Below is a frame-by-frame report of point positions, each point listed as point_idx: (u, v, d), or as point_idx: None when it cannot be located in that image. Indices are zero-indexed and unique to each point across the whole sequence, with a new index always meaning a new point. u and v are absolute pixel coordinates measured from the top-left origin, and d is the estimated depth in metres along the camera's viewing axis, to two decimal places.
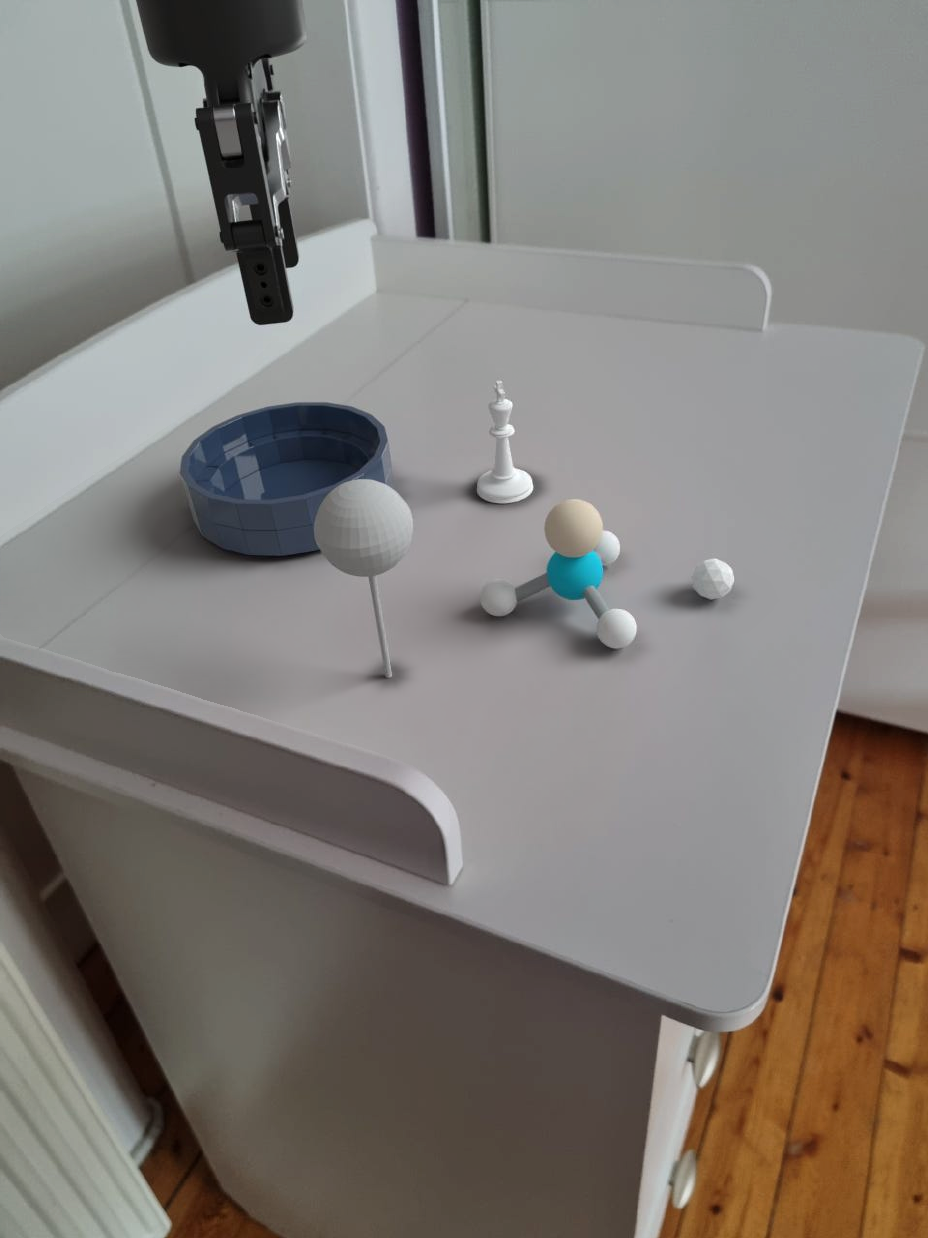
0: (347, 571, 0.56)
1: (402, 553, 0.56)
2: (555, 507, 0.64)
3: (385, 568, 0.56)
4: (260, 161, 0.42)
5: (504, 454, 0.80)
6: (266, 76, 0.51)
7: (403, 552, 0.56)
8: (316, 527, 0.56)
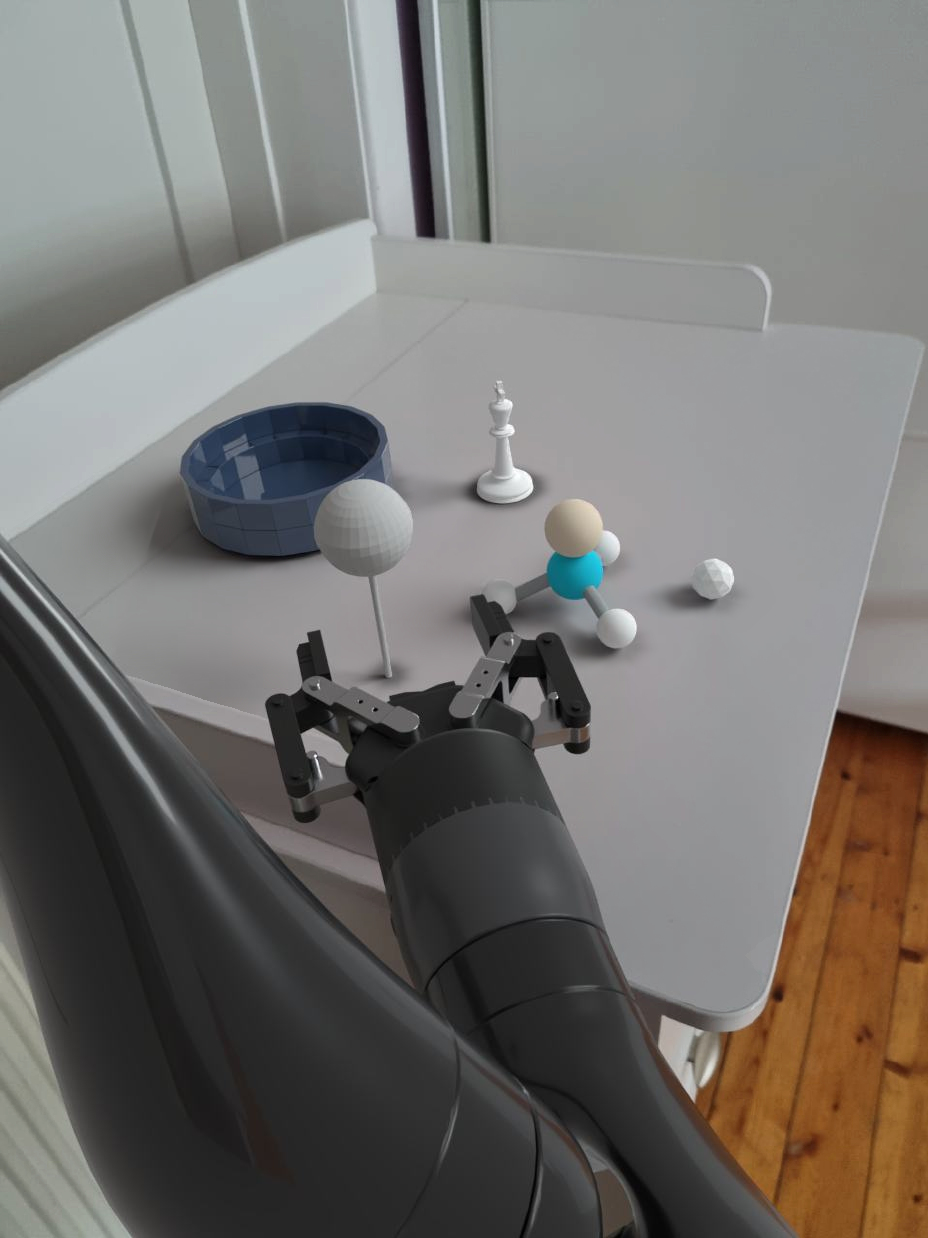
0: (347, 571, 0.56)
1: (402, 553, 0.56)
2: (555, 507, 0.64)
3: (385, 568, 0.56)
4: None
5: (504, 454, 0.80)
6: None
7: (403, 552, 0.56)
8: (316, 527, 0.56)
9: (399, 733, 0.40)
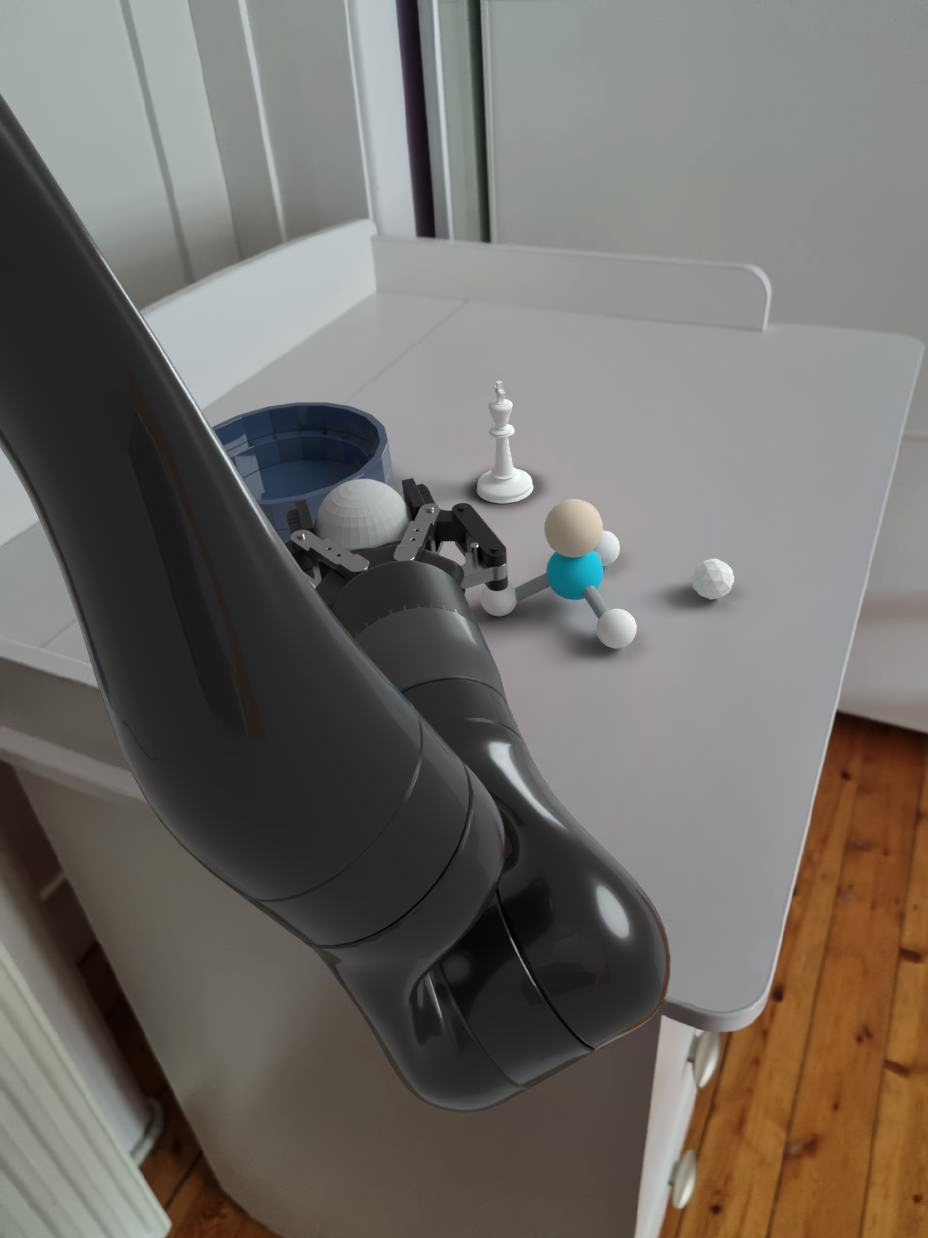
0: None
1: None
2: (555, 507, 0.64)
3: None
4: None
5: (504, 454, 0.80)
6: (486, 583, 0.53)
7: None
8: (316, 527, 0.56)
9: (350, 572, 0.50)
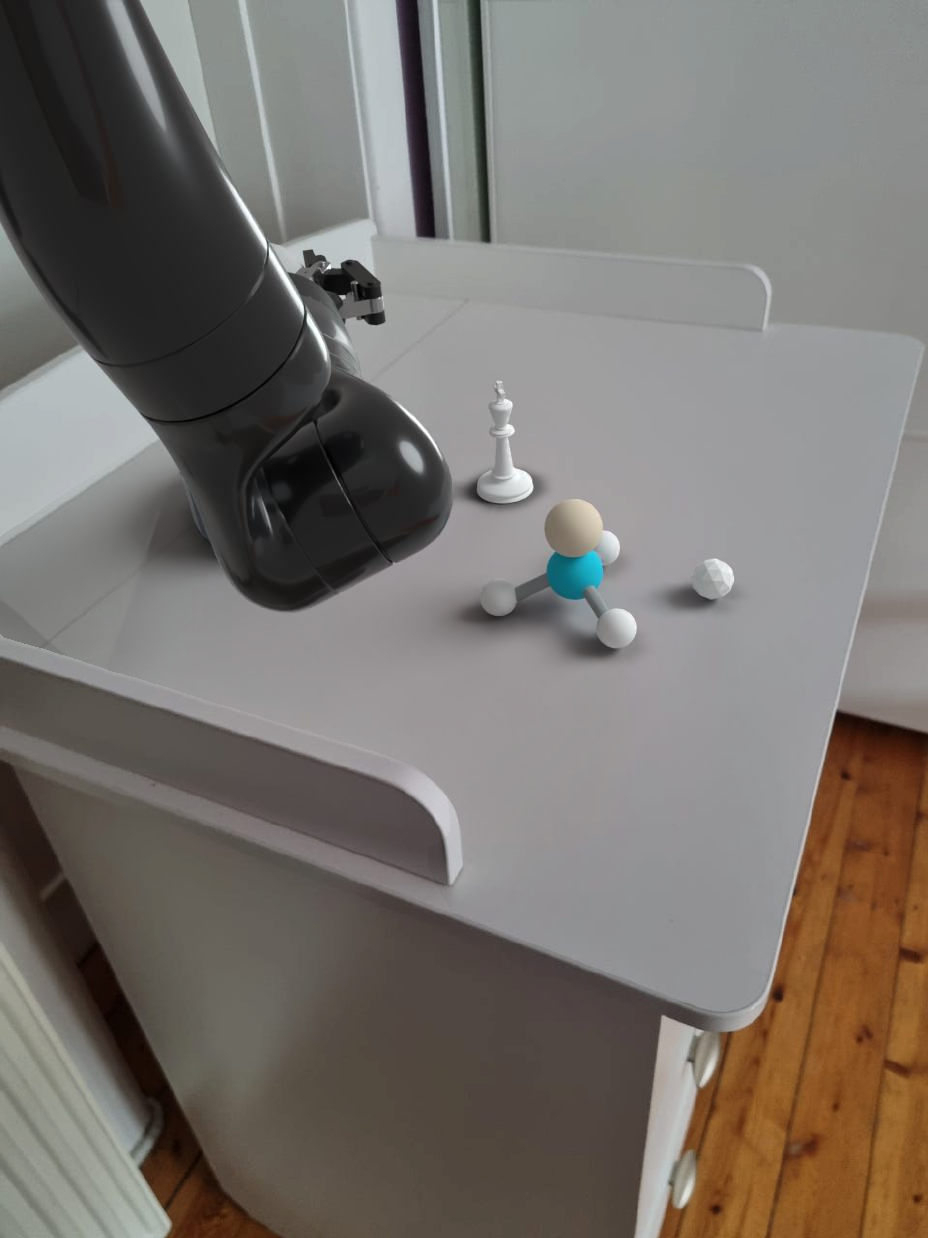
0: None
1: None
2: (555, 507, 0.64)
3: None
4: None
5: (504, 454, 0.80)
6: (366, 319, 0.60)
7: None
8: None
9: None
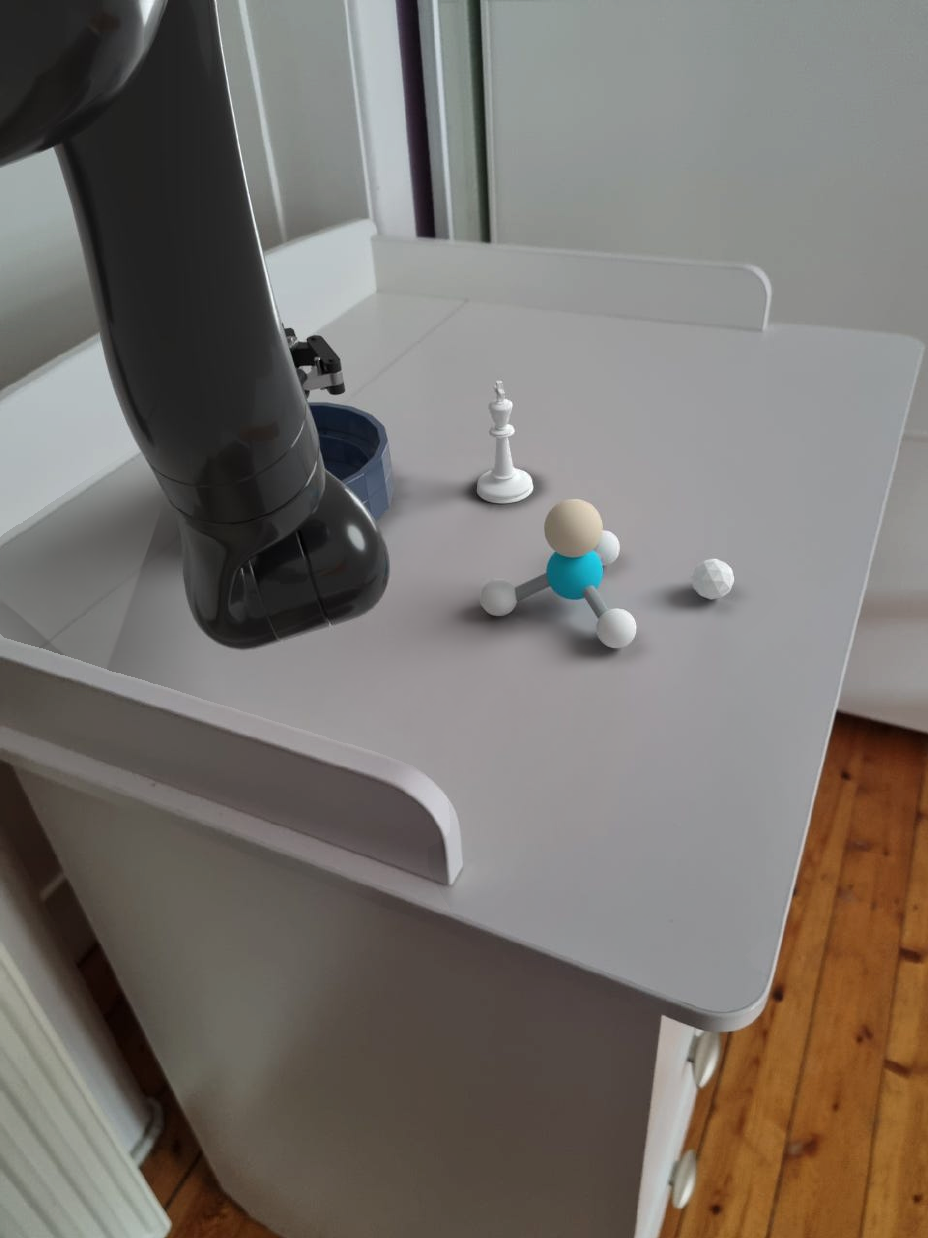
0: None
1: None
2: (555, 507, 0.64)
3: None
4: None
5: (504, 454, 0.80)
6: (328, 389, 0.69)
7: None
8: None
9: None
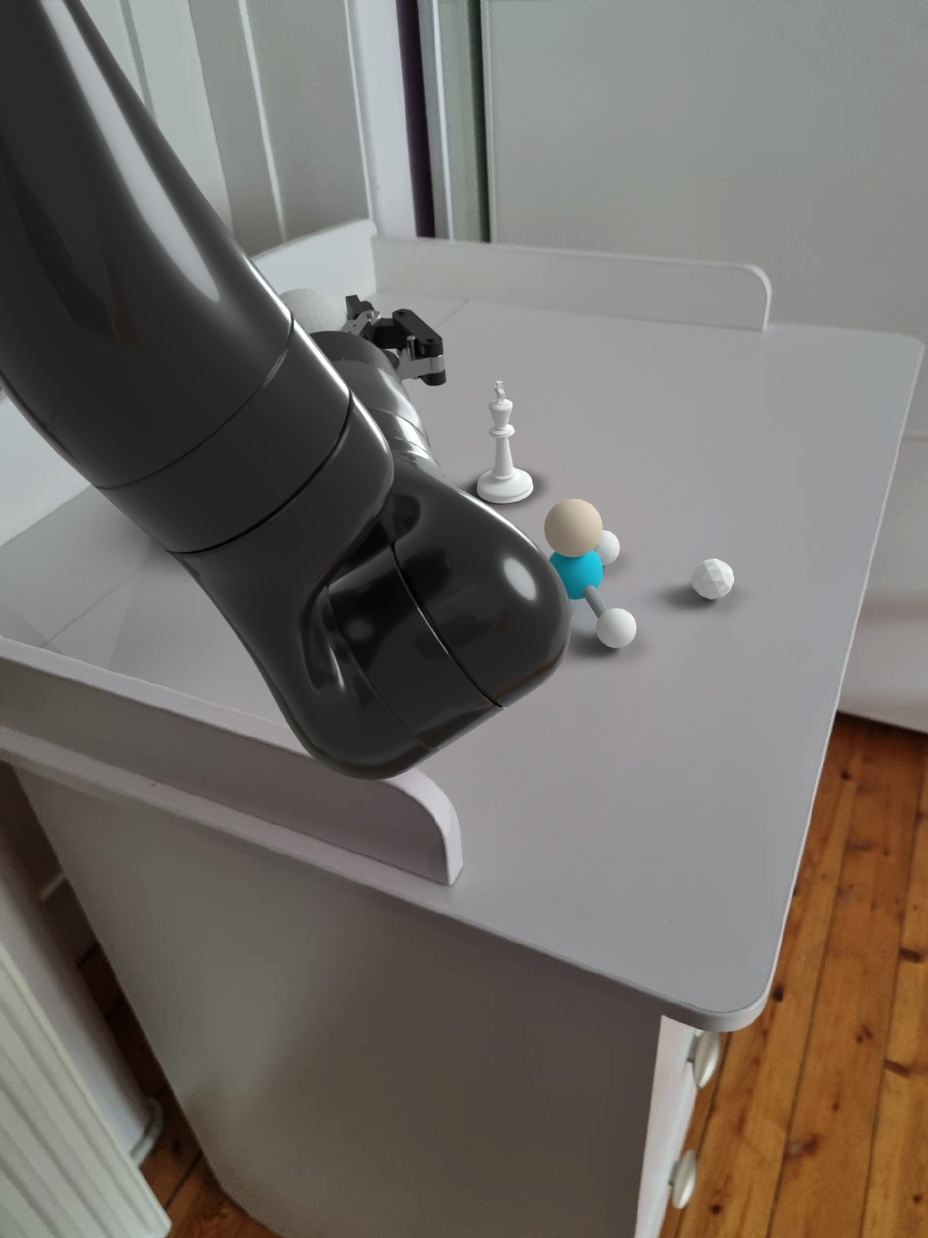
0: None
1: None
2: (555, 507, 0.64)
3: None
4: None
5: (504, 454, 0.80)
6: (423, 378, 0.52)
7: None
8: None
9: None
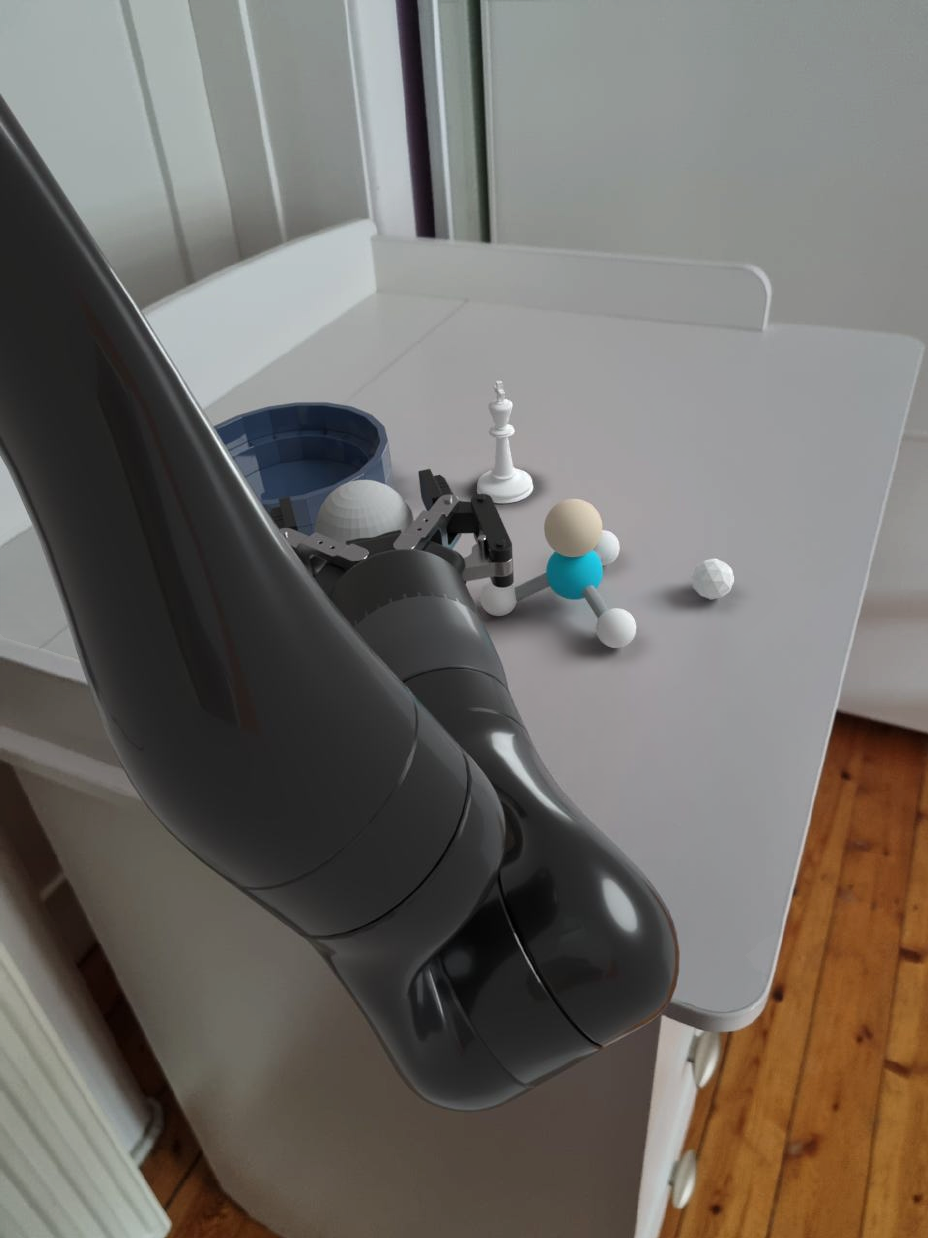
0: None
1: None
2: (555, 507, 0.64)
3: None
4: None
5: (504, 454, 0.80)
6: (491, 577, 0.51)
7: None
8: (317, 528, 0.56)
9: (351, 562, 0.49)
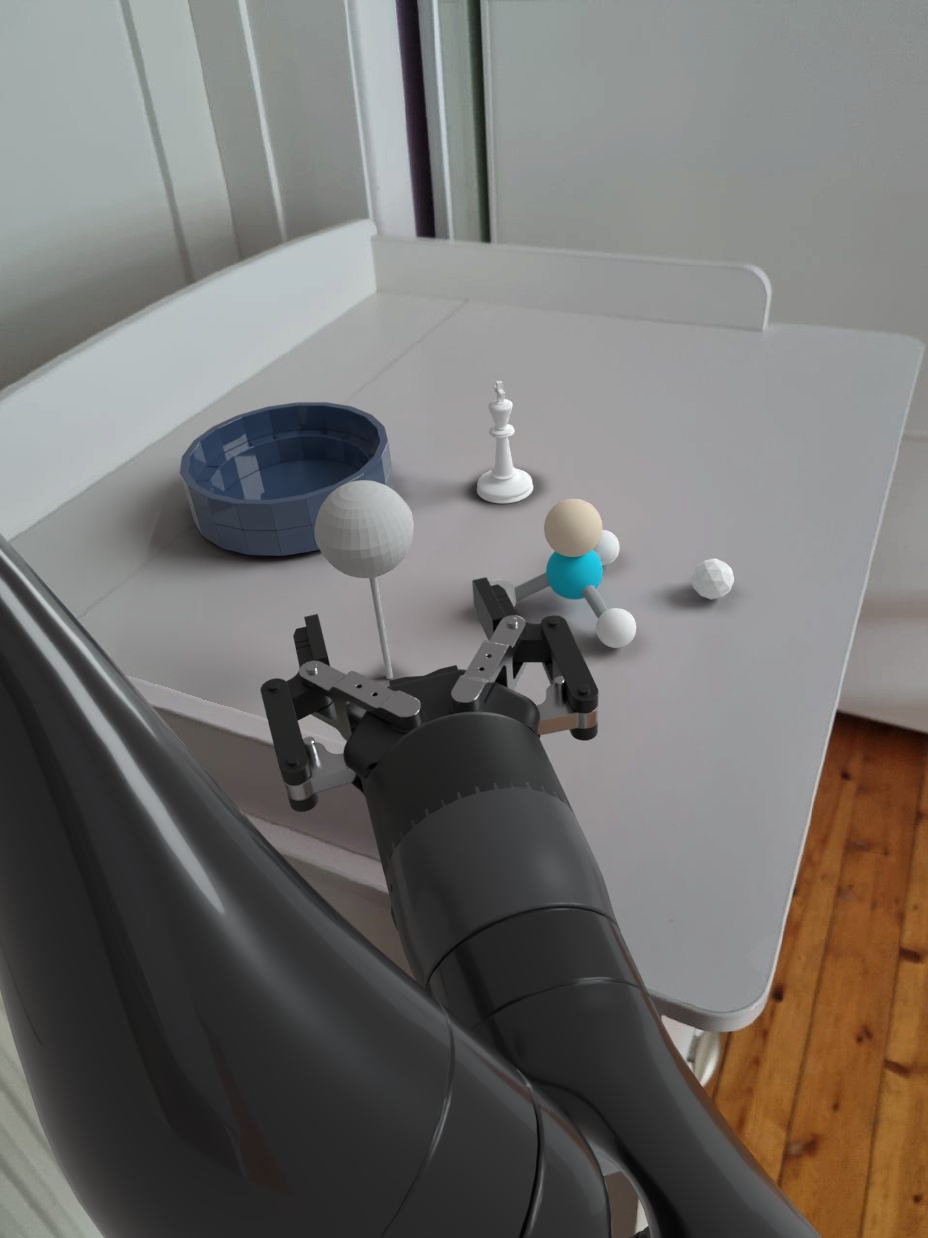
0: (348, 572, 0.56)
1: (403, 554, 0.56)
2: (555, 507, 0.64)
3: (386, 569, 0.56)
4: None
5: (504, 454, 0.80)
6: None
7: (404, 553, 0.56)
8: (317, 528, 0.56)
9: (399, 718, 0.39)
